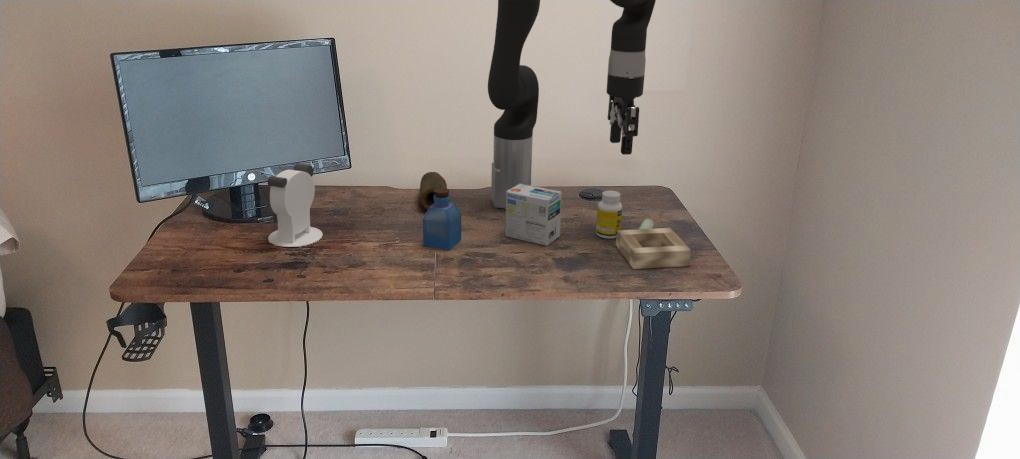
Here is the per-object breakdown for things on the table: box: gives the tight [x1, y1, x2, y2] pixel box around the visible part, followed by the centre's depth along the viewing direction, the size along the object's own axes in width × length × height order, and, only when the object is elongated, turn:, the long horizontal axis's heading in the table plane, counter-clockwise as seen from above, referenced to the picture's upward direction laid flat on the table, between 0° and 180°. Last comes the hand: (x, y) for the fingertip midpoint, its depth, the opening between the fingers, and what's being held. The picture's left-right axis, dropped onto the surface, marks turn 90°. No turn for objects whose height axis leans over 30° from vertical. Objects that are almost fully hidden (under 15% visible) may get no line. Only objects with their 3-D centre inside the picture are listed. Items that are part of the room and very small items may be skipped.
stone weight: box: [419, 171, 448, 210], centre depth 189 cm, size 15×7×7 cm, turn 10°
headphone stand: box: [267, 163, 323, 248], centre depth 166 cm, size 12×11×15 cm
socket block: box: [615, 227, 692, 270], centre depth 164 cm, size 12×12×4 cm
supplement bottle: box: [595, 190, 623, 240], centre depth 172 cm, size 5×5×10 cm
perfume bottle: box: [422, 187, 462, 251], centre depth 166 cm, size 6×6×12 cm
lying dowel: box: [638, 218, 655, 229], centre depth 174 cm, size 8×3×3 cm, turn 160°
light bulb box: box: [504, 184, 563, 247], centre depth 170 cm, size 11×7×11 cm, turn 62°
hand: (620, 148), depth 166 cm, fingers open, 8 cm apart
